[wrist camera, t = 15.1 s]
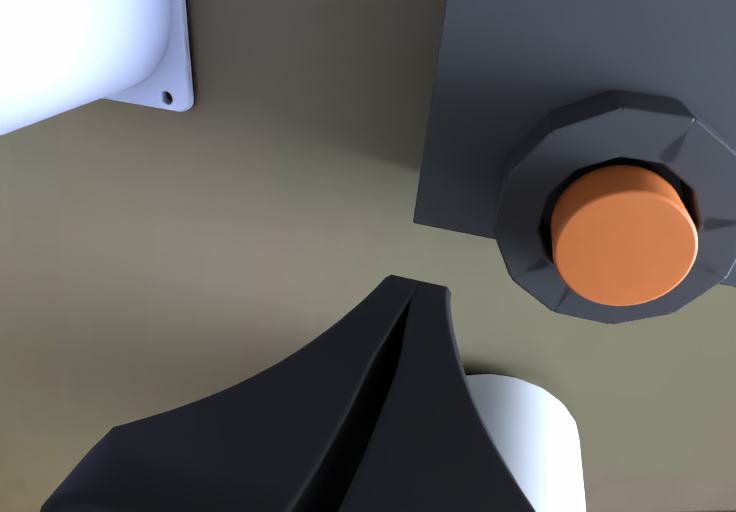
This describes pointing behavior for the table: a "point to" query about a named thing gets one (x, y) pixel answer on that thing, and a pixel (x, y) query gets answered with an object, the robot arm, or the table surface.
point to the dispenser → (582, 127)
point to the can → (533, 440)
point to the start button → (622, 236)
